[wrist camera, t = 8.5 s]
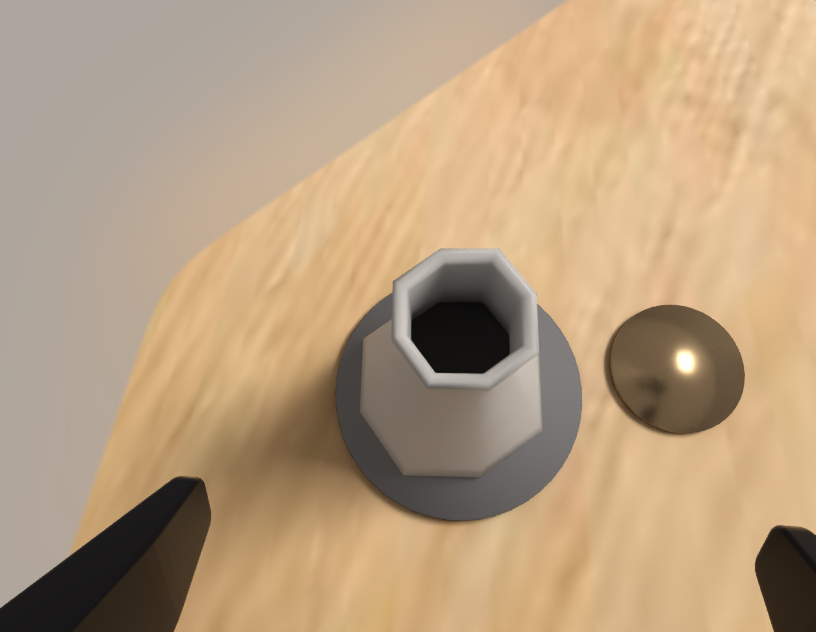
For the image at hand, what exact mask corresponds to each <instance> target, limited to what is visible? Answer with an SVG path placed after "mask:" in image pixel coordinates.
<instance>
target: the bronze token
mask: <svg viewBox="0 0 816 632" xmlns="http://www.w3.org/2000/svg"><path fill="white" fill-rule="evenodd" d="M610 371H611V377H612V380H613V383H614V386H615V388H616V390H617V392H618V394H619V396H620V397H621V399H622V401H623V402H624V403H625V404H626V406H627V407H628V408H629V409H630V410H631V411H632V412H633V413H634V414H635V415H636V416H638V417H639V418H640V419H641V420H643V421H645V422H646V423H648V424H650V425H652V426H654V427H656V428H659V429H662V430H665V431H669V432H674V433H693V432H699V431H704V430H707V429H709V428H712V427H714V426H716V425H718V424H720V423H721V422H722V421H724V420H725V419H726V418H727V417H728V416H729V415H730V414H731V413H732V412H733V410H734V409H735V408H736V406H737V404H738V402H739V400H740V398H741V395H742V392H743V388H744V378H745V373H744V365H743V361H742V357H741V355H740V352H739V349H738V347H737V346H736V344H735V342H734V340H733V339H732V337H731V336H730V335H729V333H728V332H727V331H726V330H725V329H724V328H723V327H722V326H721V325H720V324H719V323H718V322H716V321H715V320H714V319H712V318H711V317H709V316H708V315H706V314H704V313H702V312H700V311H697V310H695V309H692V308H689V307H685V306H679V305H660V306H656V307H651V308H649V309H646V310H644V311H642V312H640V313H638V314H636V315H635V316H633V317H632V318H631V319H629V320H628V321H627V322H626V323H625V324H624V325H623V326H622V328H621V329H620V330H619V332H618V334H617V335H616V337H615V339H614V342H613V344H612V348H611V353H610Z"/></svg>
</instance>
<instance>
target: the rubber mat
mask: <svg viewBox="0 0 816 632" xmlns="http://www.w3.org/2000/svg"><path fill="white" fill-rule="evenodd" d="M392 296H393V293H391V294H390V295H388V296H387V297H385V298H384V299H383V300H381V301H380V302H379V303H378V304H377V305H376V306H374V307H373V308H372V309H371V310H370V311H369V313H368V314H367V315H366V316H365V317H364V318H363V319H362V320H361V322H360V323H359V325H358V326H357V328H356V329H355V330H354V332H353V334H352V336H351V338H350V339H349V341H348V343H347V345H346V348H345V350H344V353H343V356H342V358H341V362H340V366H339V371H338V375H337V385H336V408H337V414H338V420H339V425H340V428H341V431H342V435H343V438H344V440H345V443H346V445H347V447H348V449H349V451H350V454H351V455H352V457H353V458H354V460H355V462H356V463H357V465H358V467H359V468H360V469H361V470H362V472H363V473H364V474H365V475H366V477H367V478H368V479H369V480H370V481H371V482H372V483H373V484H374V485H375V486H376V487H377V488H378V489H379V490H380V491H381V492H383V493H384V494H385V495H387V496H388V497H390V498H391V499H393V500H394V501H395V502H397V503H399V504H401V505H403V506H405V507H407V508H408V509H410V510H413V511H416V512H418V513H421V514H424V515H427V516H431V517H436V518H440V519H447V520H476V519H482V518H487V517H492V516H496V515H499V514H501V513H504V512H507V511H510V510H512V509H514V508H516V507H518V506H519V505H521V504H523V503H525V502H527V501H528V500H529V499H531V498H532V497H533V496H535V495H536V494H538V493H539V492H540V491H541V490H542V489H543V488H544V487H545V486H546V485H547V484H548V483H549V482H550V481H551V480H552V479H553V478H554V477H555V475H556V474H557V473H558V471H559V470H560V469H561V468H562V466H563V464H564V462H565V461H566V459H567V457H568V455H569V454H570V452H571V449H572V447H573V444H574V442H575V439H576V436H577V432H578V428H579V424H580V419H581V410H582V388H581V381H580V375H579V371H578V367H577V364H576V360H575V357H574V355H573V352H572V350H571V348H570V346H569V343H568V341H567V340H566V338H565V336H564V335H563V333H562V331H561V330H560V328H559V327H558V326H557V325H556V323H555V322H554V321H553V319H552V318H551V317H550V316H549V315H548V314H547V313H546V312H545V311H544V310H543V309H542V308H541V307H540V306H539V305H538V304H537V316H538V338H539V362H540V384H541V406H542V427H543V431H541V432H540V433H539V434H538V435H536V436H535V437H534V438H532V439H531V440H530V441H528V442H527V443H526V444H524V445H523V446H522V447H521V448H519V449H518V450H517V451H515V452H514V453H513V454H511V455H510V456H509V457H507V458H506V459H505V460H504V461H502V462H501V463H500V464H498V465H497V466H496V467H494V468H493V469H492V470H490V471H489V472H488V473H487V474H485V475H484V476H483V477H444V476H403V474H402V473H401V471H400V470H399V468H398V467H397V465H396V464H395V462H394V461H393V460H392V458H391V457H390V455H389V454H388V452H387V451H386V449H385V448H384V446H383V445H382V443H381V442H380V441H379V439H378V438H377V436H376V435H375V433H374V432H373V430H372V429H371V427H370V426H369V424H368V423H367V422H366V420H365V419H364V417H363V416H362V414H361V413H360V399H361V376H362V354H363V339H364V338H365V337H366V336H368V335H369V334H371V333H372V332H374V331H375V330H376V329H378V328H379V327H381V326H382V325H384V324H385V323H386V322H388V321H389V320H391V319H392Z"/></svg>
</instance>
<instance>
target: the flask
mask: <svg viewBox="0 0 816 632" xmlns="http://www.w3.org/2000/svg"><path fill="white" fill-rule="evenodd" d="M360 413H361V414H362V416H363V417H364V419H365V420H366V422H367V423H368V424H369V426H370V427H371V429H372V430H373V432H374V433H375V435H376V436H377V438H378V439H379V441H380V442H381V443H382V445H383V446H384V448H385V449H386V451H387V452H388V454H389V455H390V457H391V458H392V460H393V461H394V462H395V464H396V465H397V467H398V468H399V470H400V471H401V473H402V474H403V476H444V477H483V476H484V475H485V474H487V473H488V472H489V471H490V470H492V469H493V468H494V467H496V466H497V465H498V464H500V463H501V462H502V461H504V460H505V459H506V458H507V457H509V456H510V455H511V454H513V453H514V452H515V451H517V450H518V449H519V448H521V447H522V446H523V445H524V444H526V443H527V442H528V441H530V440H531V439H532V438H534V437H535V436H536V435H538V434H539V433H540V432H541V431H543V427H542V406H541V384H540V362H539V338H538V316H537V295H536V292H535V291H534V290H533V289H532V288H531V286H530V285H529V284H528V283H527V282H526V280H525V279H524V278H523V277H522V276H521V274H520V273H519V272H518V271H517V270H516V269H515V267H514V266H513V265H512V264H511V263H510V261H509V260H508V259H507V258H506V257H505V255H504V254H503V253H502V252H501V251H500V249H439V250H438V251H436V252H435V253H433V254H432V255H430V256H429V257H428V258H426V259H425V260H423V261H422V262H420V263H419V264H418V265H416V266H415V267H413V268H412V269H410V270H409V271H407V272H406V273H405V274H403V275H402V276H400V277H399V278H397V279H396V280H394V281H393V296H392V319H391V320H389V321H388V322H386V323H385V324H384V325H382V326H381V327H379V328H378V329H376V330H375V331H374V332H372V333H371V334H369V335H368V336H366V337H365V338H364V339H363V354H362V376H361V399H360Z"/></svg>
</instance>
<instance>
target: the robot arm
mask: <svg viewBox="0 0 816 632" xmlns="http://www.w3.org/2000/svg"><path fill="white" fill-rule="evenodd" d="M210 522H211V509H210V505H209V500H208V496H207V492H206V487H205V484H204V481H203V480H202V479H201V478H198V477H186V476H178V477H176V478H173V479H172V480H170V481H169V482H168V483H166V484H165V485H164V486H162V487H161V488H160V489H158V490H157V491H156V492H154V493H153V494H152V495H150V496H149V497H148V498H146V499H145V500H144V501H142V502H141V503H140V504H138V505H137V506H136V507H134V508H133V509H132V510H130V511H129V512H128V513H126V514H125V515H124V516H122V517H121V518H120V519H118V520H117V521H116V522H114V523H113V524H112V525H110V526H109V527H108V528H106V529H105V530H104V531H102V532H101V533H100V534H98V535H97V536H96V537H94V538H93V539H92V540H90V541H89V542H88V543H86V544H85V545H84V546H82V547H81V548H80V549H78V550H77V551H76V552H74V553H73V554H72V555H70V556H69V557H68V558H66V559H65V560H64V561H62V562H61V563H60V564H58V565H57V566H56V567H54V568H53V569H52V570H50V571H49V572H48V573H47V574H45V575H44V576H42V577H41V578H40V579H39V580H37V581H36V582H35V583H33V584H32V585H30V586H29V587H28V588H26V589H25V590H24V591H23V592H21V593H20V594H18V595H17V596H16V597H15V598H13V599H12V600H10V601H9V602H8V603H6V604H5V605H4V606H3V607H1V608H0V632H174V630H175V627H176V625H177V623H178V620H179V617H180V615H181V612H182V609H183V606H184V603H185V600H186V597H187V594H188V591H189V588H190V585H191V582H192V579H193V576H194V573H195V570H196V567H197V563H198V560H199V557H200V554H201V551H202V548H203V545H204V542H205V539H206V536H207V533H208V530H209V527H210ZM755 572H756V576H757V580H758V583H759V586H760V589H761V592H762V596H763V599H764V602H765V605H766V608H767V611H768V615H769V618H770V621H771V624H772V627H773V630H774V632H816V535H815V534H814V533H812V532H811V531H809V530H807V529H805V528H802V527H795V526H782V525H778V526H775V527H774V528H772V529H771V531H770V533H769V534H768V536H767V538H766V540H765V542H764V544H763V546H762V548H761V550H760V551H759V553H758V555H757V558H756V561H755Z"/></svg>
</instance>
